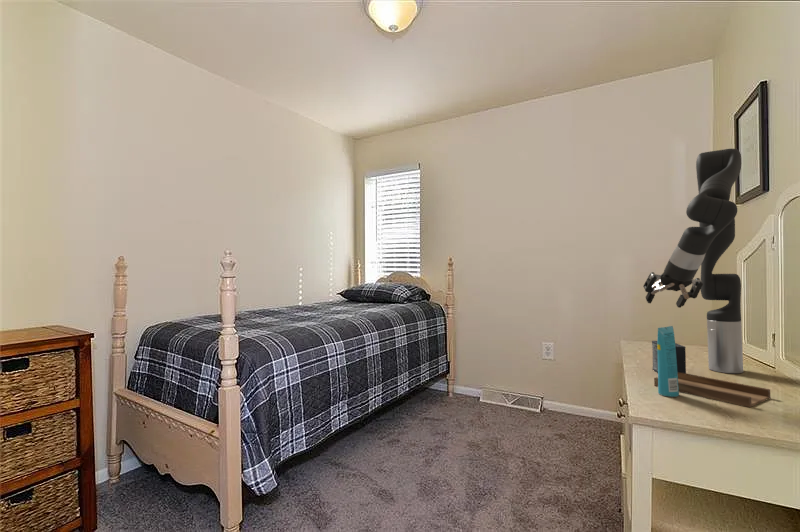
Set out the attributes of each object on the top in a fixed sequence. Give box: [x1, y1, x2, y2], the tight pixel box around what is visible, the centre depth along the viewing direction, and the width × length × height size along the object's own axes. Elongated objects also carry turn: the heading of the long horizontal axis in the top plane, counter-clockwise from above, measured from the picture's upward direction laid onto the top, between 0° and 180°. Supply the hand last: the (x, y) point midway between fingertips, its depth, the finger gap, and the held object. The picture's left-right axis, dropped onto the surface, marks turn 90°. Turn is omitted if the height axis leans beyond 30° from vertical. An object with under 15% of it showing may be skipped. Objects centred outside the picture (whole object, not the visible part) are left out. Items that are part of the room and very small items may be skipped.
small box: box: [651, 340, 687, 374], centre depth 133 cm, size 11×6×10 cm, turn 168°
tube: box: [656, 325, 680, 398], centre depth 112 cm, size 7×5×19 cm, turn 124°
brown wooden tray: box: [653, 372, 772, 408], centre depth 114 cm, size 13×23×2 cm, turn 29°
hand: (663, 303), depth 125 cm, fingers open, 8 cm apart
